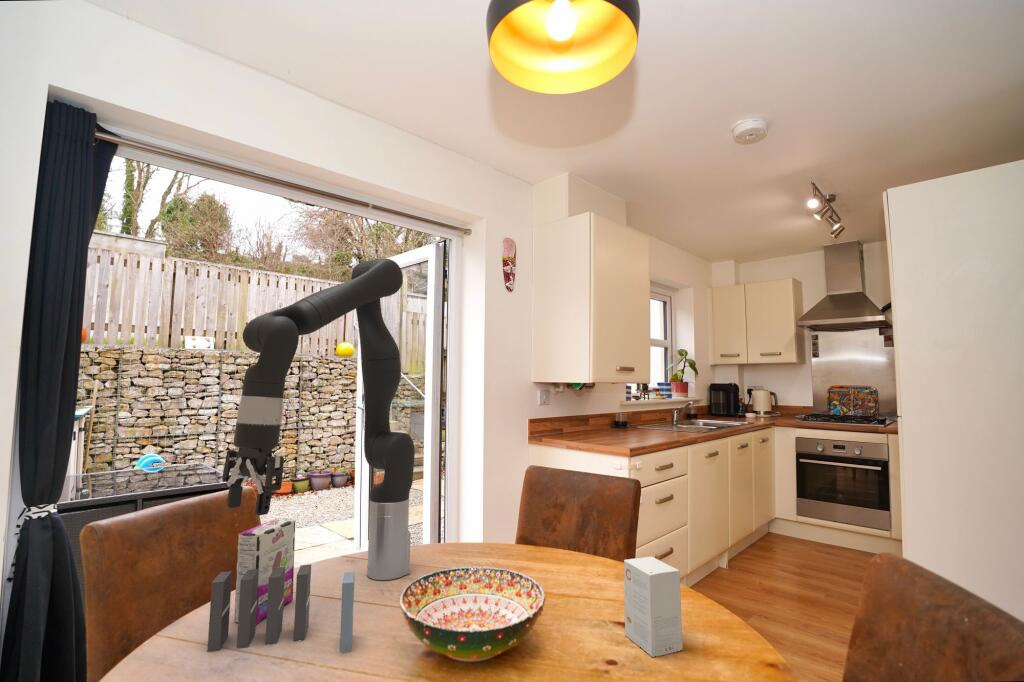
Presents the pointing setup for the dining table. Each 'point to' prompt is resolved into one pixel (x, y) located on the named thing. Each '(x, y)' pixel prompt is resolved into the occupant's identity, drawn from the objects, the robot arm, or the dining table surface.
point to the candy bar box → (266, 559)
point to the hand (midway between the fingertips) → (247, 510)
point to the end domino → (219, 611)
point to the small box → (653, 605)
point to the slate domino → (347, 612)
